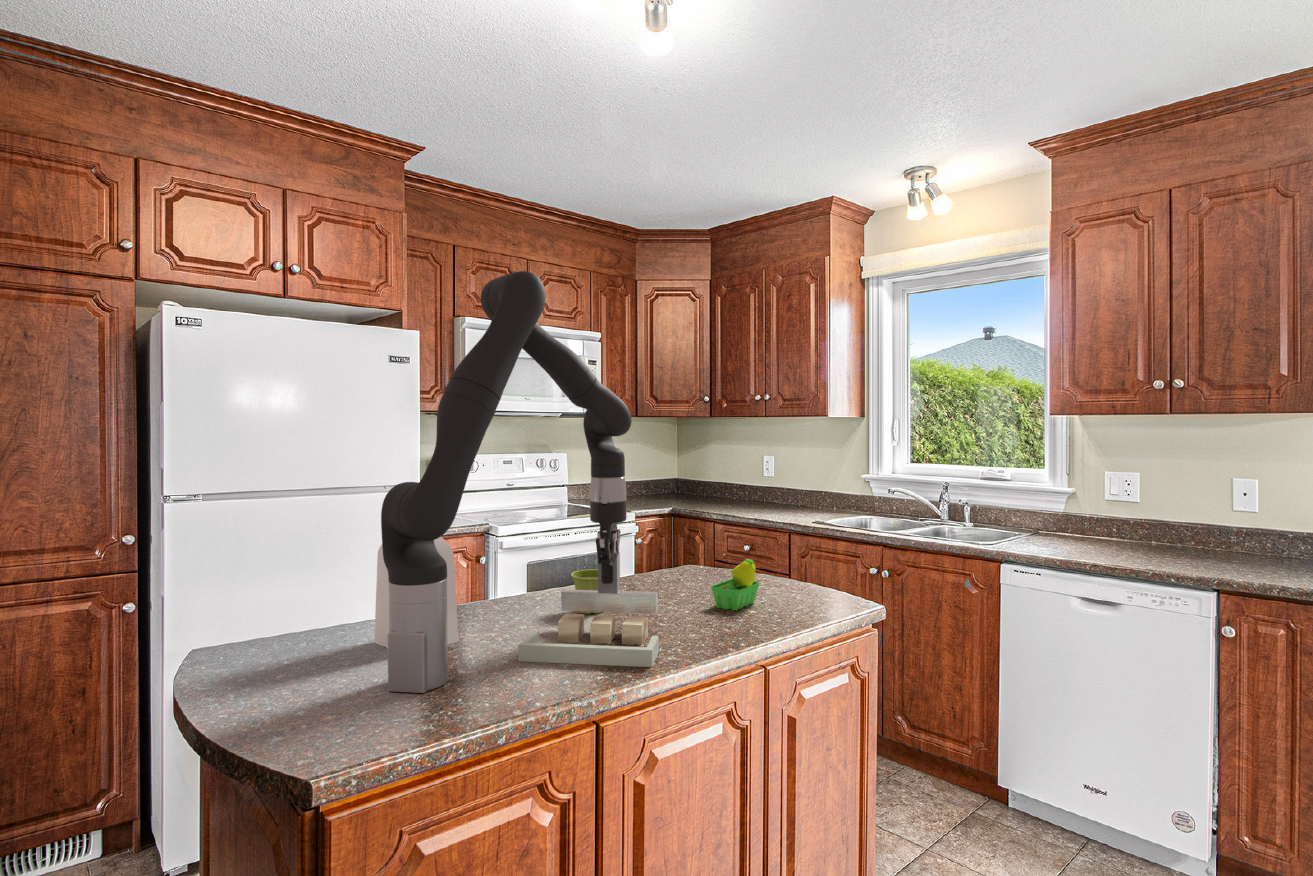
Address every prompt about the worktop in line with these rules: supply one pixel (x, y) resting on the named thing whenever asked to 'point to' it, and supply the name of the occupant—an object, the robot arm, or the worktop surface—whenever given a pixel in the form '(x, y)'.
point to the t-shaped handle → (609, 596)
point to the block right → (634, 630)
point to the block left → (571, 627)
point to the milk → (383, 595)
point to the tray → (587, 653)
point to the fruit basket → (737, 588)
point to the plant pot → (586, 582)
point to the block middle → (602, 629)
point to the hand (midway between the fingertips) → (608, 581)
